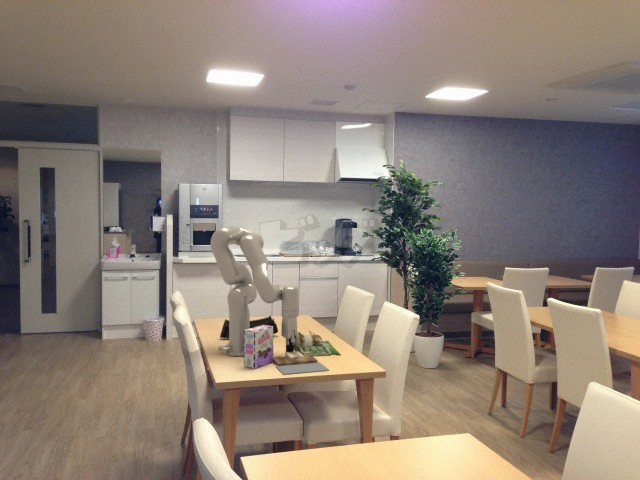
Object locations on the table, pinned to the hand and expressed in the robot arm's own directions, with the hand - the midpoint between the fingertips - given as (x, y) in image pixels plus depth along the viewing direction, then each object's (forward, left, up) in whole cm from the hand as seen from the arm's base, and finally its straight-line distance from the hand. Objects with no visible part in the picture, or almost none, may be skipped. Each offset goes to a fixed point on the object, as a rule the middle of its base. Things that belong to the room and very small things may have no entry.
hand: (289, 353), depth 258 cm
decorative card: (+17, +15, -3) cm, 22 cm away
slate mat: (0, -19, -2) cm, 19 cm away
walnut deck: (0, -8, -2) cm, 8 cm away
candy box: (-16, -7, -3) cm, 18 cm away
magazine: (-9, +45, -3) cm, 46 cm away
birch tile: (0, -7, 0) cm, 8 cm away
